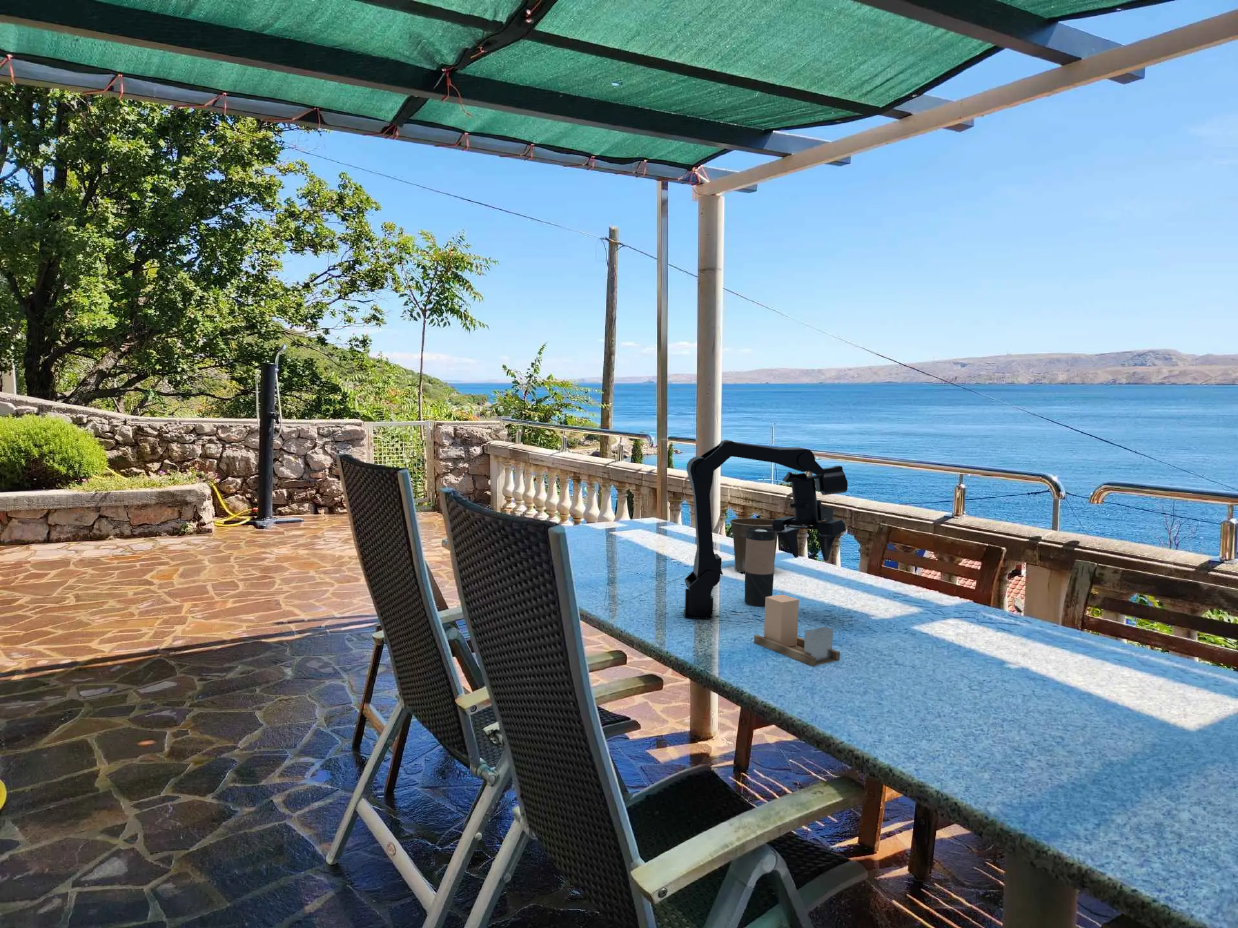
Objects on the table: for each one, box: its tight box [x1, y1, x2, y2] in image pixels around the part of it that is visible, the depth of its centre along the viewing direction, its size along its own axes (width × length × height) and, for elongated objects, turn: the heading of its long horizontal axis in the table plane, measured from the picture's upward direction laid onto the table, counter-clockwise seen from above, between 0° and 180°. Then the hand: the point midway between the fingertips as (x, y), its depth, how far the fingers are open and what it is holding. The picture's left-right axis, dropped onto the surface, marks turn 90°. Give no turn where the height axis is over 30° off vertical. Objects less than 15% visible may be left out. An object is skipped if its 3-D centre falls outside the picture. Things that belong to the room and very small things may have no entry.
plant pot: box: [729, 517, 780, 574], centre depth 241 cm, size 16×16×16 cm
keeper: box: [763, 594, 800, 647], centre depth 164 cm, size 5×5×10 cm
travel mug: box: [744, 527, 776, 608], centre depth 201 cm, size 8×8×20 cm
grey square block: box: [804, 626, 834, 662], centre depth 155 cm, size 2×6×7 cm, turn 122°
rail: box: [753, 634, 841, 667], centre depth 160 cm, size 17×8×2 cm, turn 32°
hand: (811, 559), depth 189 cm, fingers open, 9 cm apart
